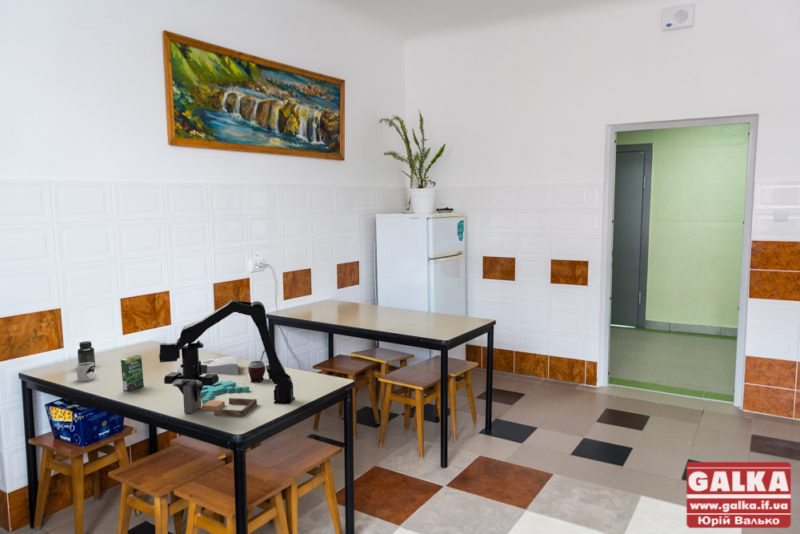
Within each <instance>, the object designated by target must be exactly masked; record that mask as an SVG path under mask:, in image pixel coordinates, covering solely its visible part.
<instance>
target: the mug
mask: <svg viewBox="0 0 800 534" xmlns="http://www.w3.org/2000/svg"><path fill="white" fill-rule="evenodd" d="M75 367H76V380H77V382H79V383H82V382H84V383H85V382H91V381H93V380H95V377H96V375H95V367H94V363H92V362H86V363H80V364H76V366H75Z"/></svg>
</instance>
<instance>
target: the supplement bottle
mask: <svg viewBox="0 0 800 534" xmlns="http://www.w3.org/2000/svg"><path fill="white" fill-rule="evenodd" d="M92 346H93V344H92V341H85V340H84V341H81V342H79V348H78V349H77V362H78V364H80V363H86V362H92V363H94V368H96V356H95V348H94V347H92Z"/></svg>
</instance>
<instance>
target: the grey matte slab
mask: <svg viewBox="0 0 800 534" xmlns="http://www.w3.org/2000/svg"><path fill="white" fill-rule="evenodd" d="M194 385H196V382H194V381H190V382H189V383H187V384H186V385H184V386H183V394H182V396H183V397H182V398H183V413H184V414H193V413H195V412H196V411H197V410H199V409H200V408H202V397H201V393H200V396H199V400H198V402H196V401H195V396H194V388H193V386H194Z"/></svg>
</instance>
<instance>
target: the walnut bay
mask: <svg viewBox="0 0 800 534" xmlns="http://www.w3.org/2000/svg"><path fill="white" fill-rule="evenodd" d="M228 404H230V405H246V406H245V407H243V409H223V408H222V409H221V408H220V409H214V411H213V412H214V413H213V414H214V416H225V417H240V418H241V417H242V418H243V417H244V416H245V415H246V414H248V413H249V412H250V411H251V410H253V408H254V407H255V406H257V405H258V399H256V398H243V397H242V398H239V397H238V398H237V397H229V398H228Z"/></svg>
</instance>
